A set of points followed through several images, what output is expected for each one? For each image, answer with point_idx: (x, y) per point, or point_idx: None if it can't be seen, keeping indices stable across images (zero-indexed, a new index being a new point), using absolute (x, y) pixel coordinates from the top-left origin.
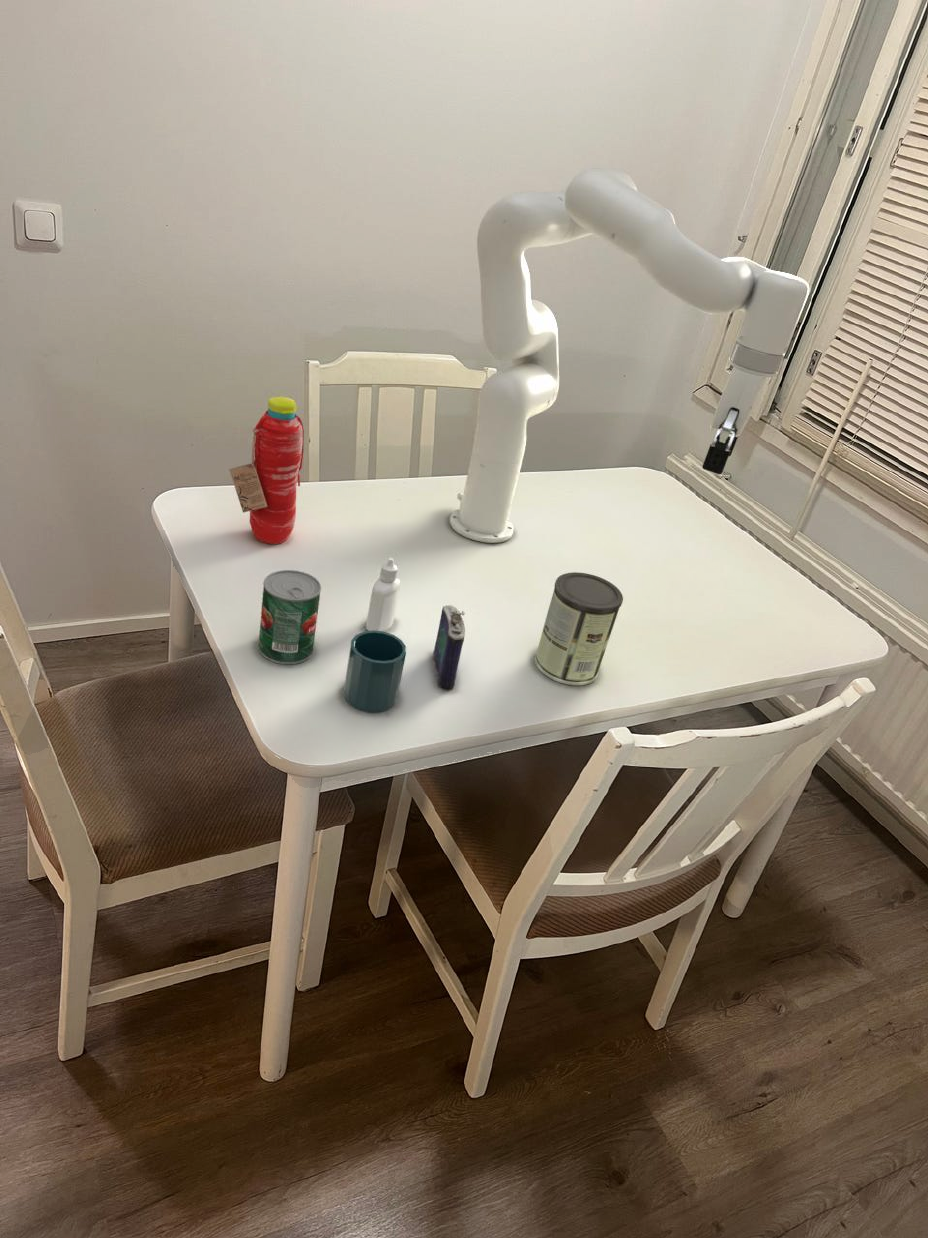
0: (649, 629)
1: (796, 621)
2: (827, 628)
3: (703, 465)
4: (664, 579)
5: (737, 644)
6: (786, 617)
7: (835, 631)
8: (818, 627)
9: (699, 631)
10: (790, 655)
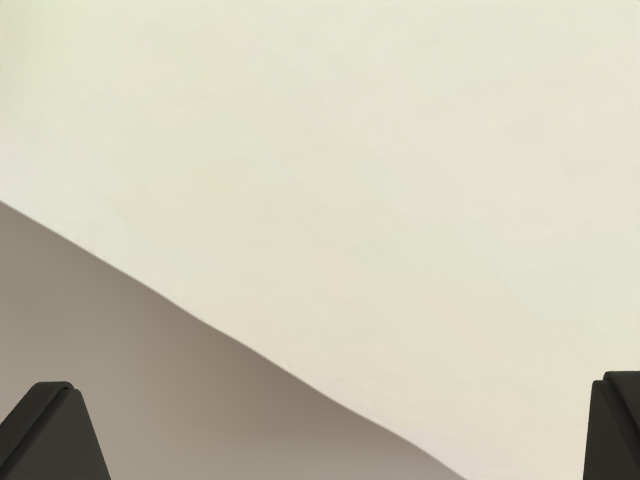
0: (255, 103)
1: None
2: None
3: (26, 398)
4: (595, 45)
5: (369, 300)
6: None
7: None
8: None
9: (355, 214)
10: (417, 400)
